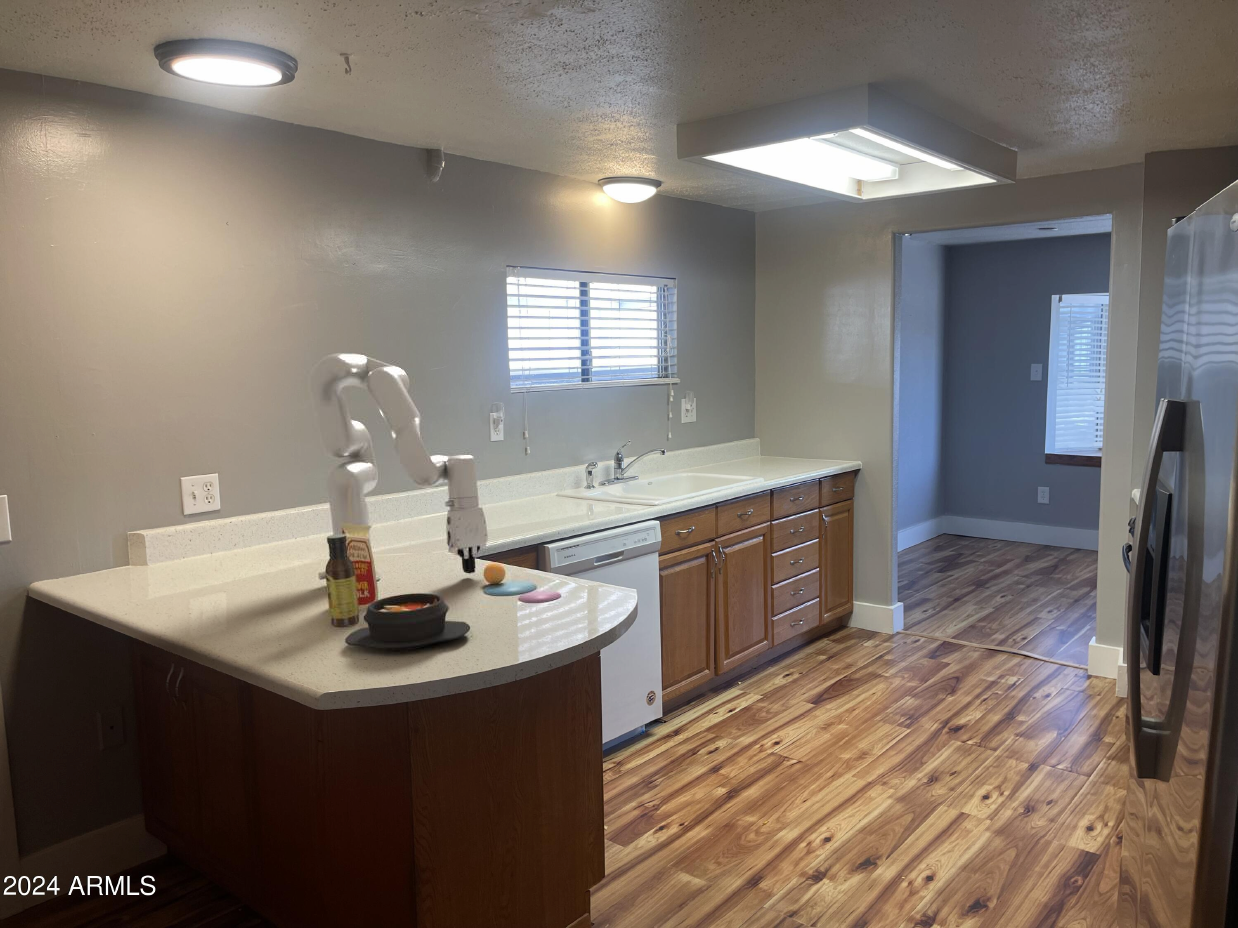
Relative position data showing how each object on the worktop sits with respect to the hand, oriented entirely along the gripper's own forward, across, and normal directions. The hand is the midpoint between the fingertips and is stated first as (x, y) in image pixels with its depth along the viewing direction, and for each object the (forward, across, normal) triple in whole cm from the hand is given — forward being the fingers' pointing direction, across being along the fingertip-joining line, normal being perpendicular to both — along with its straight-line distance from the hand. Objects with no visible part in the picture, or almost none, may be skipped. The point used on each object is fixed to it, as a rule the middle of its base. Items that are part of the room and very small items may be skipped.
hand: (469, 572), depth 241 cm
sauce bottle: (+2, -41, -15) cm, 44 cm away
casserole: (+2, -38, -39) cm, 54 cm away
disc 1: (+2, 0, -19) cm, 19 cm away
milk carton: (+2, -31, -1) cm, 31 cm away
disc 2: (+2, 0, -32) cm, 32 cm away
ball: (-1, 0, -12) cm, 12 cm away
